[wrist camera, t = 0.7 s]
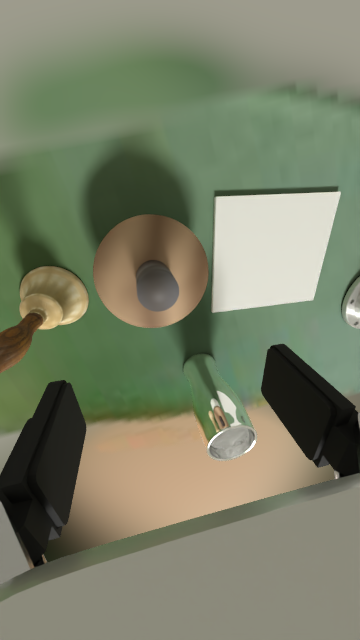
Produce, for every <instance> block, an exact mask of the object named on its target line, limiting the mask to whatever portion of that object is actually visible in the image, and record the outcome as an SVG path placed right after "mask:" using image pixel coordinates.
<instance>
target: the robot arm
mask: <svg viewBox="0 0 360 640" xmlns="http://www.w3.org/2000/svg"><path fill="white" fill-rule="evenodd" d="M342 315H343V318H344V320H345V322H346V323H347V324H349V325H351V326H352V327H355V328H358V329H360V276H359V277H358V278H357V279H356V281H355V282H354V283H353V284H352V286H351V287H350V288H349V290H348V292H347V294H346V296H345V298H344V301H343V305H342ZM261 392H262V395H263V396H264V398H265V399H266V401H267V402H268V403H269V405H270V406H271V408H272V409H273V410H274V412H275V413H276V414H277V416H278V417H279V419H280V420H281V422H282V423H283V424H284V426H285V427H286V429H287V430H288V432H289V433H290V434H291V436H292V437H293V438H294V440H295V441H296V443H297V444H298V446H299V447H300V448H301V450H302V451H303V453H304V454H305V455H306V457H307V458H308V459H309V460H312V461H313V462H314V463H315V465H316V466H317V467H322V466H326V465H329V464H330V465H331V466H332V467H333V469H334V475H335V479H334V480H330V481H326V482H322V483H319V484H315V485H311V486H308V487H305V488H301V489H297V490H294V491H290V492H286V493H283V494H279V495H275V496H272V497H268V498H264V499H261V500H257V501H254V502H251V503H247V504H243V505H240V506H236V507H233V508H229V509H225V510H222V511H218V512H215V513H212V514H208V515H204V516H201V517H197V518H194V519H190V520H187V521H183V522H180V523H176V524H173V525H169V526H166V527H163V528H159V529H155V530H152V531H148V532H145V533H142V534H138V535H135V536H131V537H128V538H124V539H121V540H117V541H114V542H111V543H108V544H104V545H101V546H98V547H94V548H91V549H88V550H85V551H81V552H78V553H75V554H72V555H69V556H65V557H62V558H59V559H57V560H54V561H51V562H49V563H47V561H46V559H45V557H44V555H43V553H44V552H45V551H46V547H47V544H48V540H52V539H55V538H59V537H60V535H61V530H62V526H64V525H66V524H67V522H68V518H69V513H70V509H71V504H72V499H73V494H74V489H75V484H76V479H77V474H78V469H79V464H80V459H81V454H82V449H83V444H84V439H85V434H86V423H85V420H84V418H83V415H82V412H81V410H80V407H79V404H78V402H77V399H76V396H75V394H74V391H73V388H72V385H71V383H66V381H65V380H61V381H55V382H50V383H49V384H48V385H47V388H46V390H45V392H44V394H43V396H42V398H41V400H40V402H39V404H38V407H37V409H36V411H35V413H34V415H33V417H32V418H30V419H29V420H28V421H27V422H26V424H25V426H24V428H23V430H22V432H21V434H20V436H19V438H18V440H17V442H16V444H15V446H14V448H13V450H12V452H11V455H10V456H9V458H8V460H7V462H6V464H5V466H4V468H3V471H2V472H1V475H0V640H360V412H359V413H358V412H357V411H356V410H355V406H354V405H353V404H352V403H351V402H350V401H349V400H348V399H347V398H345V397H344V396H343V395H342V394H341V393H340V392H339V391H337V390H336V389H335V388H334V387H333V386H332V385H331V384H329V383H328V382H327V381H326V380H325V379H324V378H323V377H321V376H320V375H319V374H318V373H317V372H316V371H315V370H313V369H312V368H311V367H310V366H309V365H308V364H307V363H305V362H304V361H303V360H302V359H301V358H300V357H299V356H297V355H296V354H295V353H294V352H293V351H292V350H291V349H289V348H288V347H287V346H286V345H285V344H278V345H272V346H271V347H270V349H268V351H267V357H266V363H265V369H264V375H263V381H262V387H261Z"/></svg>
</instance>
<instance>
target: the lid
mask: <svg viewBox="0 0 360 640" xmlns="http://www.w3.org/2000/svg"><path fill="white" fill-rule="evenodd" d="M93 277H94V283H95V287H96V290H97V292H98V295H99V297H100V299H101V300H102V302H103V303H104V305H105V306H106V307H107V308H108V309H109V310H110V311H111V312H112V313H113V314H114V315H115V316H117V317H118V318H119V319H121V320H123V321H125V322H127V323H129V324H131V325H135V326H138V327H145V328H157V327H163V326H167V325H171V324H173V323H175V322H178V321H179V320H181V319H183V318H184V317H185V316H187V315H188V314H189V313H190V312H191V311H192V310H193V309H194V308H195V307H196V306H197V305H198V303H199V302H200V300H201V298H202V296H203V294H204V292H205V289H206V286H207V281H208V262H207V257H206V254H205V251H204V249H203V247H202V245H201V243H200V241H199V240H198V238H197V237H196V236H195V235H194V233H193V232H192V231H191V230H189V229H188V228H187V227H186V226H184V225H183V224H182V223H180V222H178V221H176V220H174V219H172V218H169V217H166V216H161V215H152V214H146V215H138V216H135V217H131V218H129V219H126V220H124V221H122V222H121V223H119V224H118V225H116V226H115V227H114V228H113V229H112V230H110V231H109V233H108V234H107V235H106V236H105V237H104V239H103V240H102V242H101V243H100V245H99V247H98V250H97V252H96V255H95V259H94V265H93Z"/></svg>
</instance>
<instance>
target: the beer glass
mask: <svg viewBox="0 0 360 640" xmlns="http://www.w3.org/2000/svg"><path fill="white" fill-rule="evenodd" d="M183 372H184V375H185V377H186V378H187V380H188V382H189V383H190V386H191V392H192V402H193V410H194V416H195V419H196V423H197V427H198V430H199V432H200V435H201V438H202V440H203V443H204V445H205V447H206V450H207V453H208V455H209V456H210V457H211V458H212V459H214V460H219V461H227V460H232V459H235V458H237V457H240V456H241V455H244V454H245V453H247V452H248V451H249V450H250V449H251V448H252V447H253V446H254V444H255V443H256V440H257V433H256V431H255V429H254V427H253V425H252V423H251V420H250V418H249V416H248V414H247V412H246V410H245V408H244V406H243V404H242V403H241V401H240V399H239V398H238V396H237V395H236V394H235V392H234V391H233V390H232V389H231V387H230V386H229V385H228V384H227V383H226V382H225V380H224V379H223V378H222V377H221V376H220V374H219V373H218V370H217V366H216V363H215V360H214V359H213V357H212V356H210V355H208V354H203V353H202V354H196V355H194V356H192V357H190V358H189V359H188V360H187V361H186V362H185V364H184V367H183Z"/></svg>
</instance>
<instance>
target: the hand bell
mask: <svg viewBox="0 0 360 640" xmlns="http://www.w3.org/2000/svg"><path fill="white" fill-rule="evenodd" d="M20 297H21V300H22V301H21V303H20V314H21V316H22V318H23V319H22V321H21V322H20V323H19V324H18V325H16V326H14V327H11V328H8V329H6V330H4V331H2V332H1V333H0V373H1V372H3V371H5V370H7V369H9V368H10V367H12V366H14V365H15V364H16V363H18V362H19V361H20V360H21V359H22V358H23V356H24V355H25V354H26V352H27V351H28V349H29V347H30V345H31V342H32V335H33V334H34V332H35V331H36V330H37V329H50V328H54V327H56V326H57V325H64V324H69V323H72V322H75V321H77V320H78V319H80V318H81V317H82V316H83V315H84V313H85V312H86V310H87V307H88V302H89V299H88V293H87V290H86V288H85V286H84V284H83V283H82V281H81V280H80V279H79V278H78V277H77V276H75V275H74V274H73V273H71V272H69V271H67V270H65V269H63V268H59V267H54V266H43V267H38V268H36V269H34V270H32V271H30V272H29V273H28V274H27V275H26V276H25V277H24V278H23V280H22V282H21V285H20Z"/></svg>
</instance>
